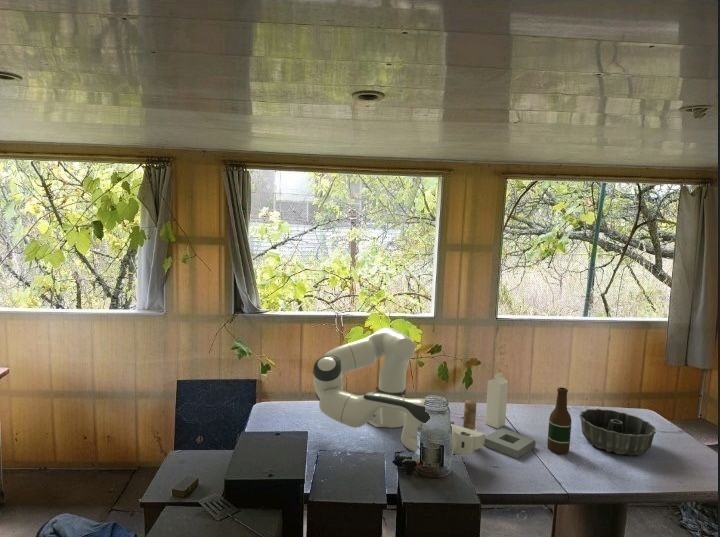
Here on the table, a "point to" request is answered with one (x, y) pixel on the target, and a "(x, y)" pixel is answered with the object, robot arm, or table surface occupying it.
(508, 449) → the socket block
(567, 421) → the beer bottle
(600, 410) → the bundt pan
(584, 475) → the table surface
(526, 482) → the table surface
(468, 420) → the dowel
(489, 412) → the milk
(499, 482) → the table surface
